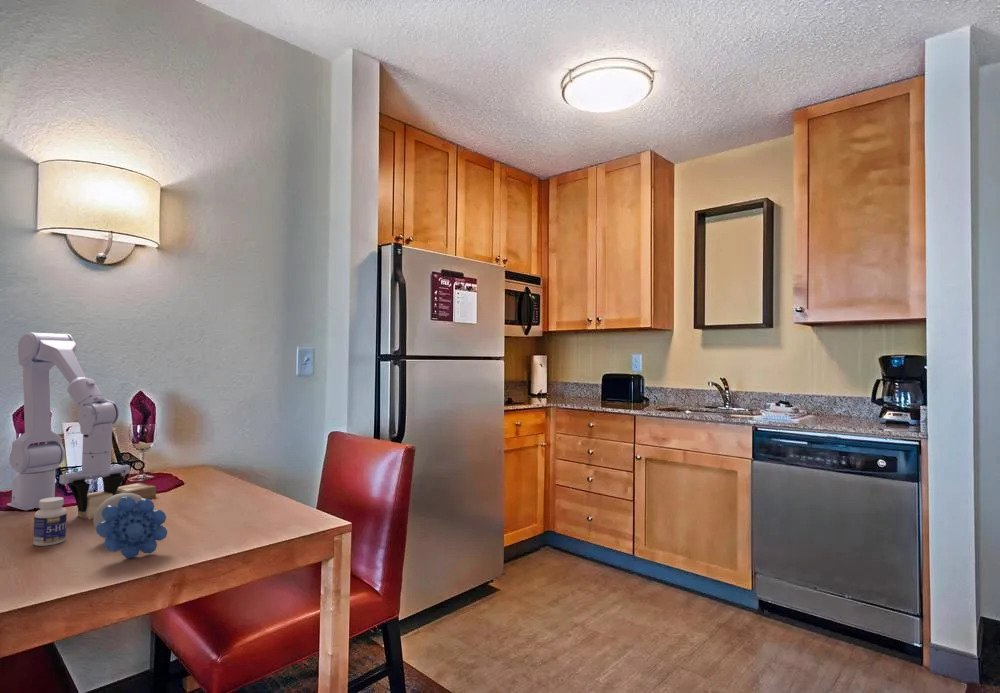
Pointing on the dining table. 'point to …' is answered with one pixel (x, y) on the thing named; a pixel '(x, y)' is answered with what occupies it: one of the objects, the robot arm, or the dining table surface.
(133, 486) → the base
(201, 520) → the dining table surface
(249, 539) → the dining table surface
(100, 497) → the cube
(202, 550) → the dining table surface
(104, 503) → the donut
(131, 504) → the blue flower rosette
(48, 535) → the pill bottle
